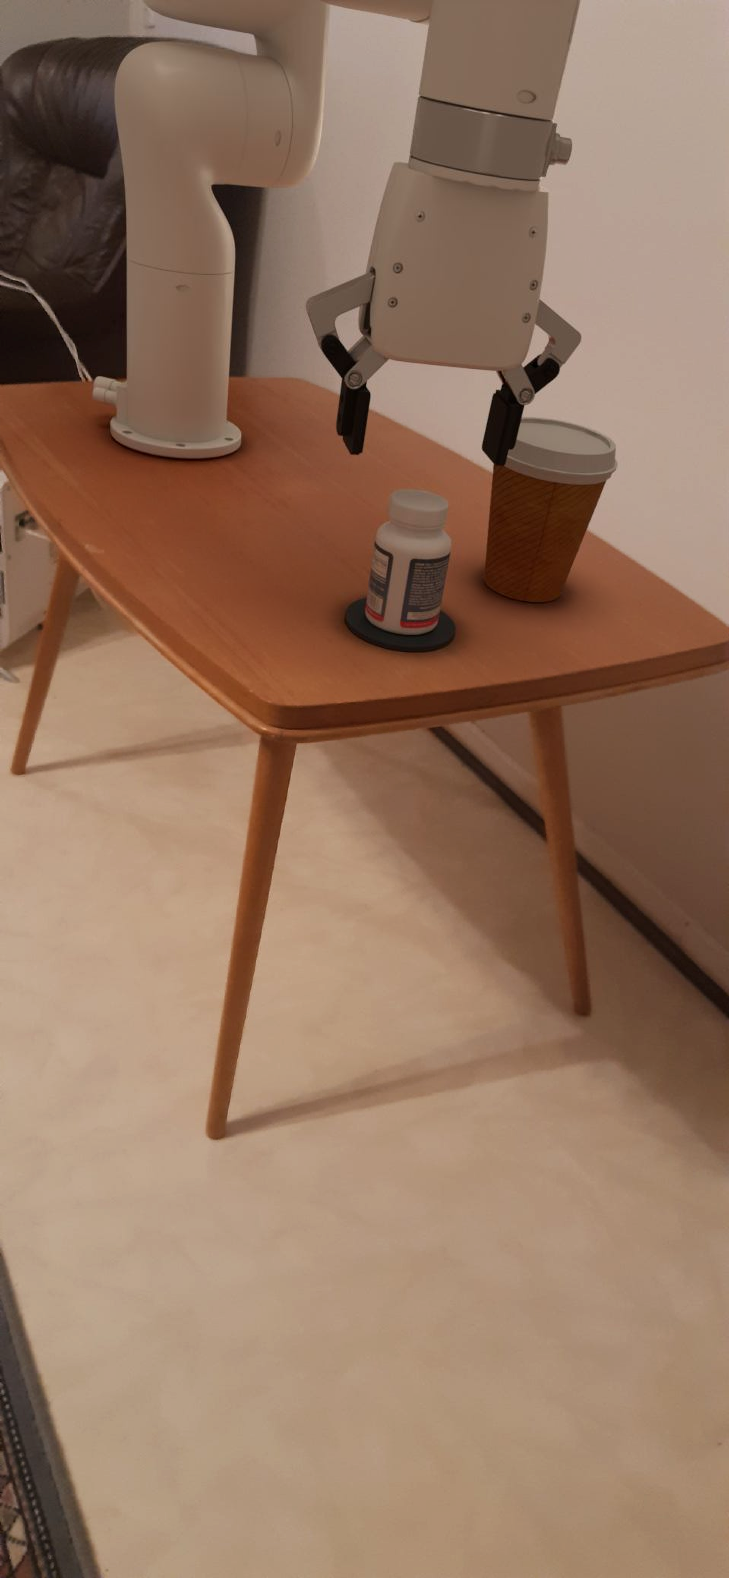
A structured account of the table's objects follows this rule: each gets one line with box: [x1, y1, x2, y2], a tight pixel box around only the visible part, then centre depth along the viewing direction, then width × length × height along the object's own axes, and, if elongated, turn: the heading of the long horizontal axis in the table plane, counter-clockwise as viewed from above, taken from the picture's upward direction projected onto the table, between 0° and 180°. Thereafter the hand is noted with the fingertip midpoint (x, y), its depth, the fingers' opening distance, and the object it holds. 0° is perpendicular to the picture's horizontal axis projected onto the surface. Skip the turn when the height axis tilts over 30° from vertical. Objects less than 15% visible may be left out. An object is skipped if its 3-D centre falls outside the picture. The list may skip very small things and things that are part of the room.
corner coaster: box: [344, 597, 457, 653], centre depth 73 cm, size 8×8×1 cm
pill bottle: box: [365, 488, 452, 635], centre depth 71 cm, size 5×5×9 cm
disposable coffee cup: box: [483, 416, 619, 603], centre depth 79 cm, size 10×10×12 cm
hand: (423, 453), depth 67 cm, fingers open, 9 cm apart
